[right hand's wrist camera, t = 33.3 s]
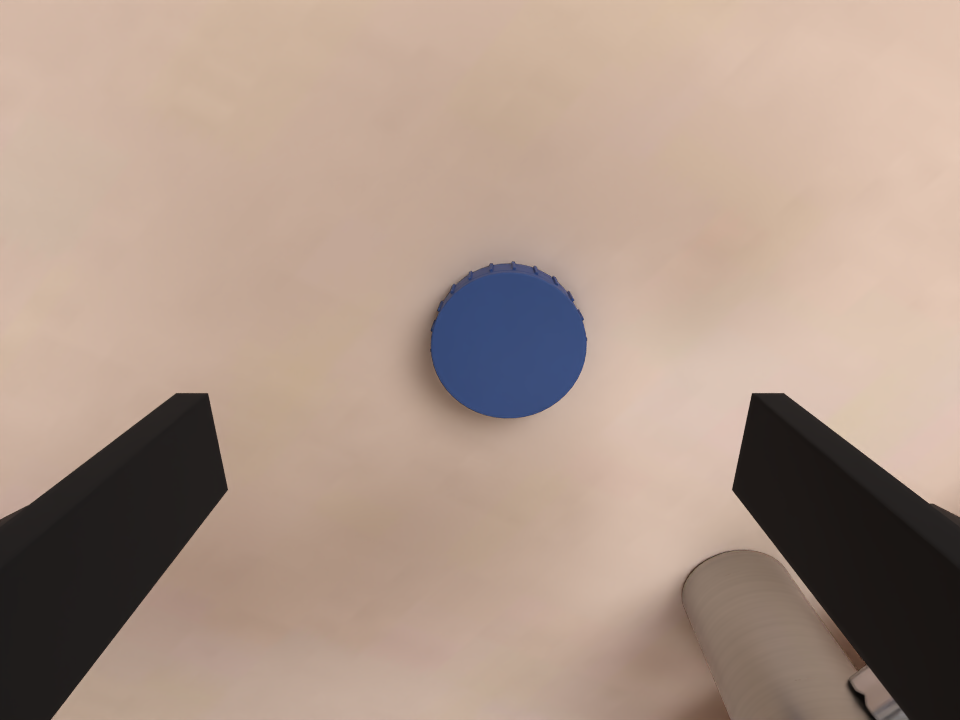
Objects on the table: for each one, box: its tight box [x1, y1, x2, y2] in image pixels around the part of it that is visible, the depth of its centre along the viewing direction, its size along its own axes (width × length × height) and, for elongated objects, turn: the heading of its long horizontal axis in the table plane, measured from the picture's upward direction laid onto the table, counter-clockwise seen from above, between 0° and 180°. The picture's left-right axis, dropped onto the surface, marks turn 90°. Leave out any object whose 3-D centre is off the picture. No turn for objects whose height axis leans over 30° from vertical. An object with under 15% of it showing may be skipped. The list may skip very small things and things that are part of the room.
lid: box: [430, 262, 587, 418], centre depth 19 cm, size 6×6×2 cm
